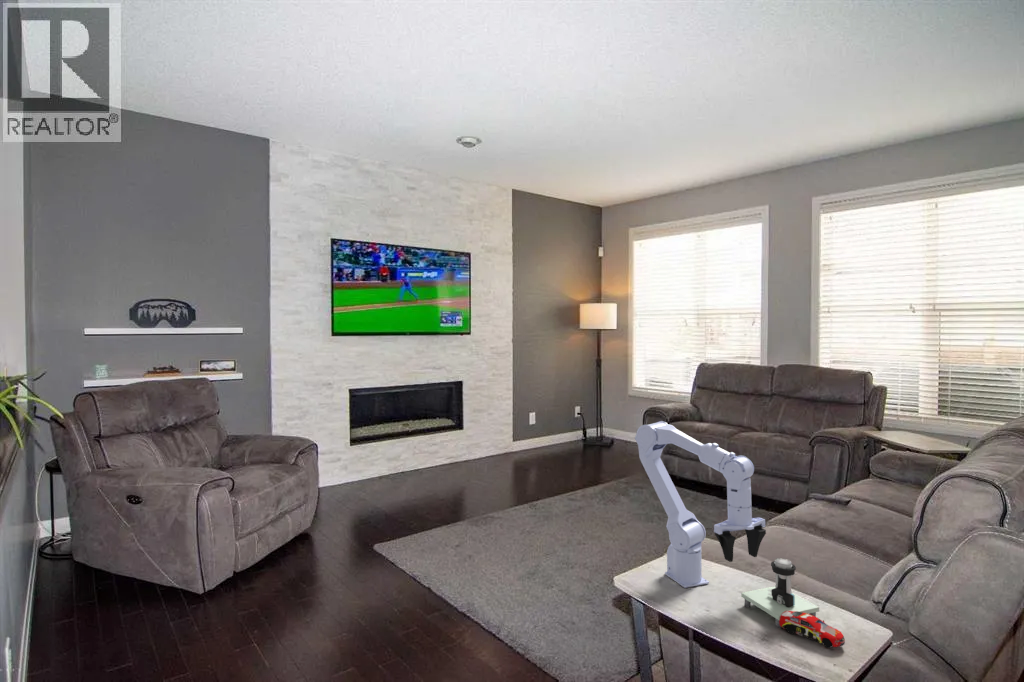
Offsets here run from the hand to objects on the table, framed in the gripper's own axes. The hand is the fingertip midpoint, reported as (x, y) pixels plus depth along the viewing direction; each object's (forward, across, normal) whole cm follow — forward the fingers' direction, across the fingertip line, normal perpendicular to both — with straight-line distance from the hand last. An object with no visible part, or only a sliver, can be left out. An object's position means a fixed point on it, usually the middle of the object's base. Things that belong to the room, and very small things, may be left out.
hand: (740, 558), depth 138 cm
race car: (+11, +2, -19) cm, 22 cm away
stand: (+11, +4, -8) cm, 14 cm away
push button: (+8, +4, -9) cm, 13 cm away
